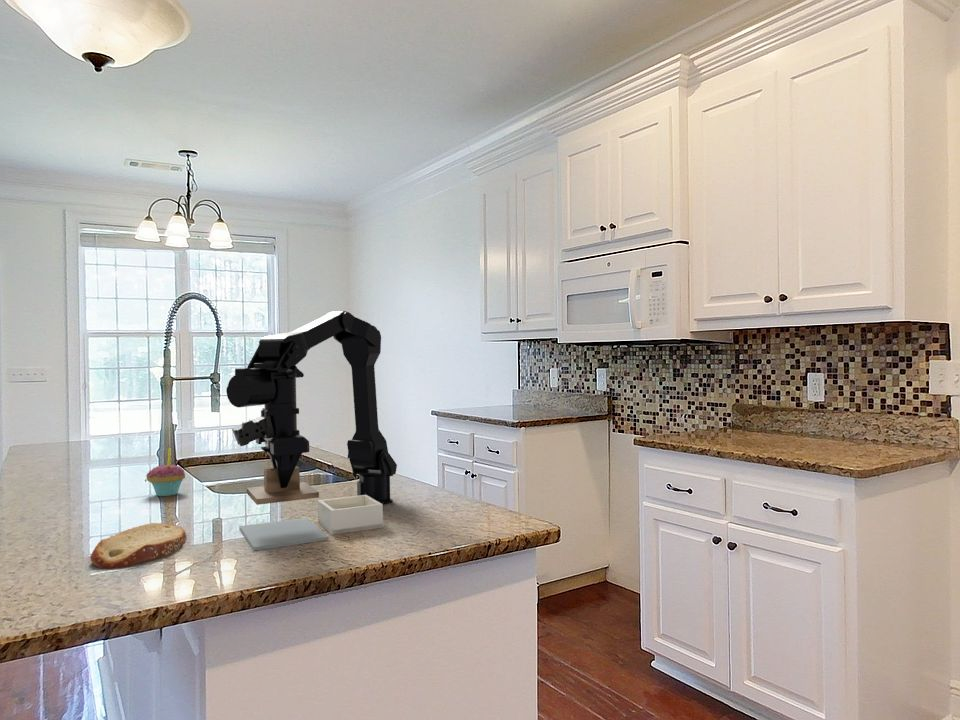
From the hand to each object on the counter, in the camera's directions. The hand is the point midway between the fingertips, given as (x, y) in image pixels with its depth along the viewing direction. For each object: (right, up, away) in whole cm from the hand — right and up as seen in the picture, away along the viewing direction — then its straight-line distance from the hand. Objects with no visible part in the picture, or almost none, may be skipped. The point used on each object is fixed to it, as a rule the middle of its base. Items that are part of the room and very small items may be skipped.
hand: (282, 486), depth 126 cm
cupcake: (-39, -9, +37) cm, 55 cm away
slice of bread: (-22, -10, -8) cm, 26 cm away
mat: (0, -9, 0) cm, 9 cm away
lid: (0, -2, 0) cm, 2 cm away
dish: (+11, -9, +6) cm, 16 cm away
